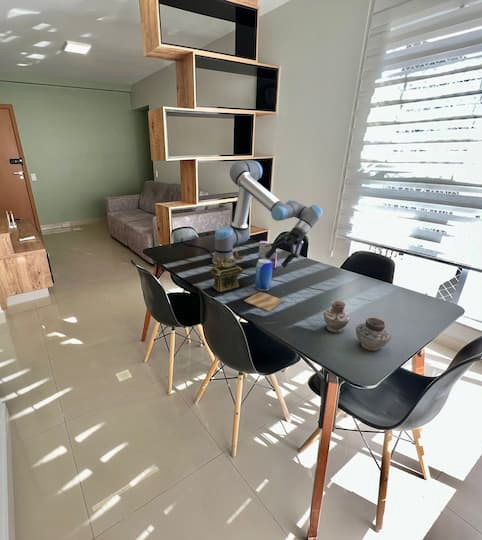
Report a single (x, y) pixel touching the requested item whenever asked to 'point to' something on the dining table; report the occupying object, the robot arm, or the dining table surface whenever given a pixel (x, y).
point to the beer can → (263, 274)
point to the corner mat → (264, 301)
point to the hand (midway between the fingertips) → (274, 261)
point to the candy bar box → (263, 251)
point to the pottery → (358, 327)
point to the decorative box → (226, 274)
